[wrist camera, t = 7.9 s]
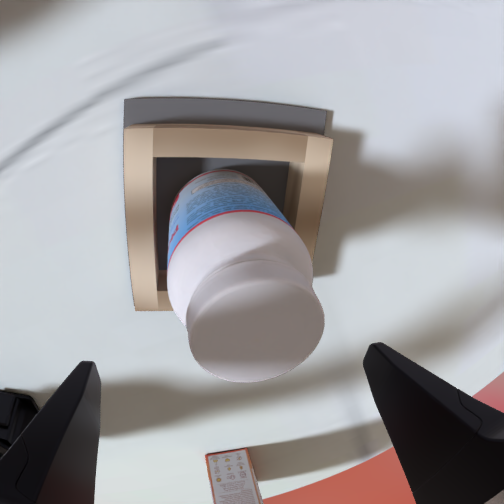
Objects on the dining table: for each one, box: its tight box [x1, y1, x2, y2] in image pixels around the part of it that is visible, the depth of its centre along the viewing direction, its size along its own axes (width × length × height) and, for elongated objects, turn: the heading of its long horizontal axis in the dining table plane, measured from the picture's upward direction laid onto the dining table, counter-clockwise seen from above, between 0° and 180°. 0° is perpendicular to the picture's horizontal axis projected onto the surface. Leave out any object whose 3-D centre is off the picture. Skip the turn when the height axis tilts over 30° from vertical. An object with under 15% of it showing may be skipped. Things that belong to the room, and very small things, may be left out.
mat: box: [123, 98, 327, 306], centre depth 20 cm, size 14×12×1 cm
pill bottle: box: [167, 169, 324, 382], centre depth 15 cm, size 6×6×11 cm
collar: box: [124, 124, 333, 311], centre depth 19 cm, size 11×11×2 cm
